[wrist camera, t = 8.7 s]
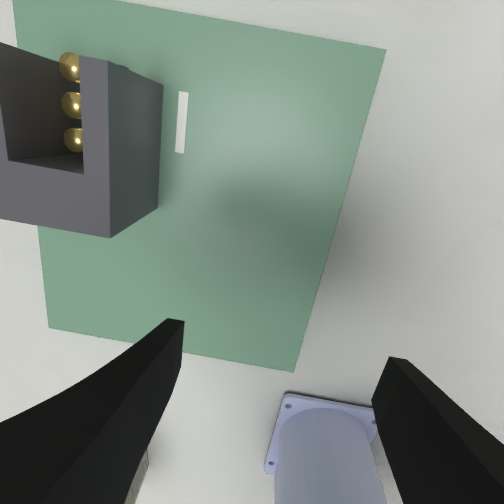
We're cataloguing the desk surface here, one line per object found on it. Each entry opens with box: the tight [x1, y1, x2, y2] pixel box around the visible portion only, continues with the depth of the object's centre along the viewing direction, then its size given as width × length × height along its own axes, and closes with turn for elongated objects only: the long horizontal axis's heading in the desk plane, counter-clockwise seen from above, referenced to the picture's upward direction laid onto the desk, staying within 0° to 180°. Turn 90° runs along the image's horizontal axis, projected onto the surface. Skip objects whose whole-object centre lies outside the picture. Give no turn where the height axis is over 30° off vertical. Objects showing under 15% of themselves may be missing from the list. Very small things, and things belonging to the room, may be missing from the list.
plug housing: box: [0, 42, 164, 239], centre depth 14 cm, size 6×5×6 cm
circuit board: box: [12, 0, 386, 373], centre depth 18 cm, size 20×18×1 cm
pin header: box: [59, 52, 129, 152], centre depth 14 cm, size 4×1×4 cm, turn 170°
